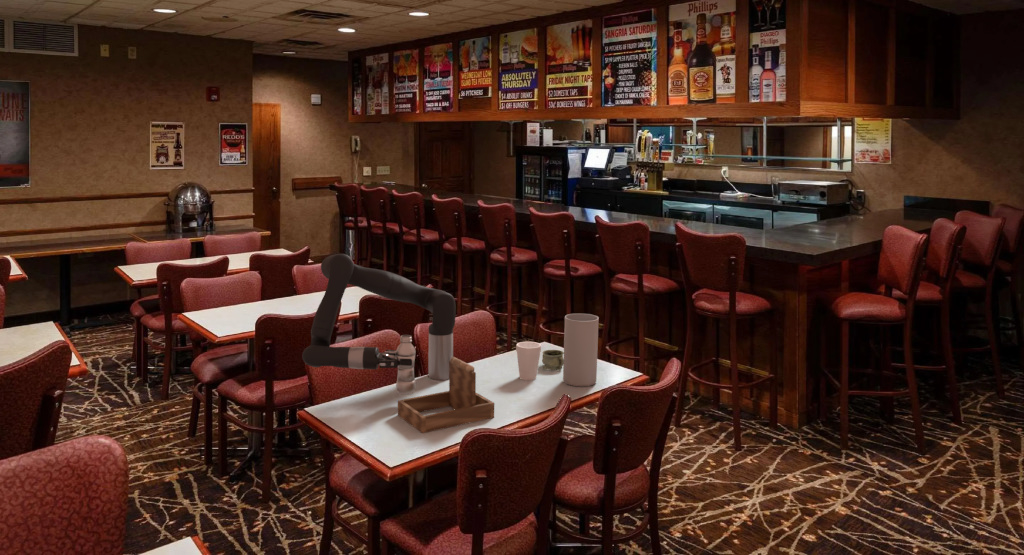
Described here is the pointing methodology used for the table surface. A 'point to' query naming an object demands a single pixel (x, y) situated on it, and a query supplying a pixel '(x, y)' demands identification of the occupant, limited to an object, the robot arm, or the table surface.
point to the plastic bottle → (406, 373)
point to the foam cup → (528, 359)
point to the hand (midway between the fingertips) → (413, 359)
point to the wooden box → (449, 402)
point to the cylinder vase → (580, 349)
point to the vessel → (553, 359)
